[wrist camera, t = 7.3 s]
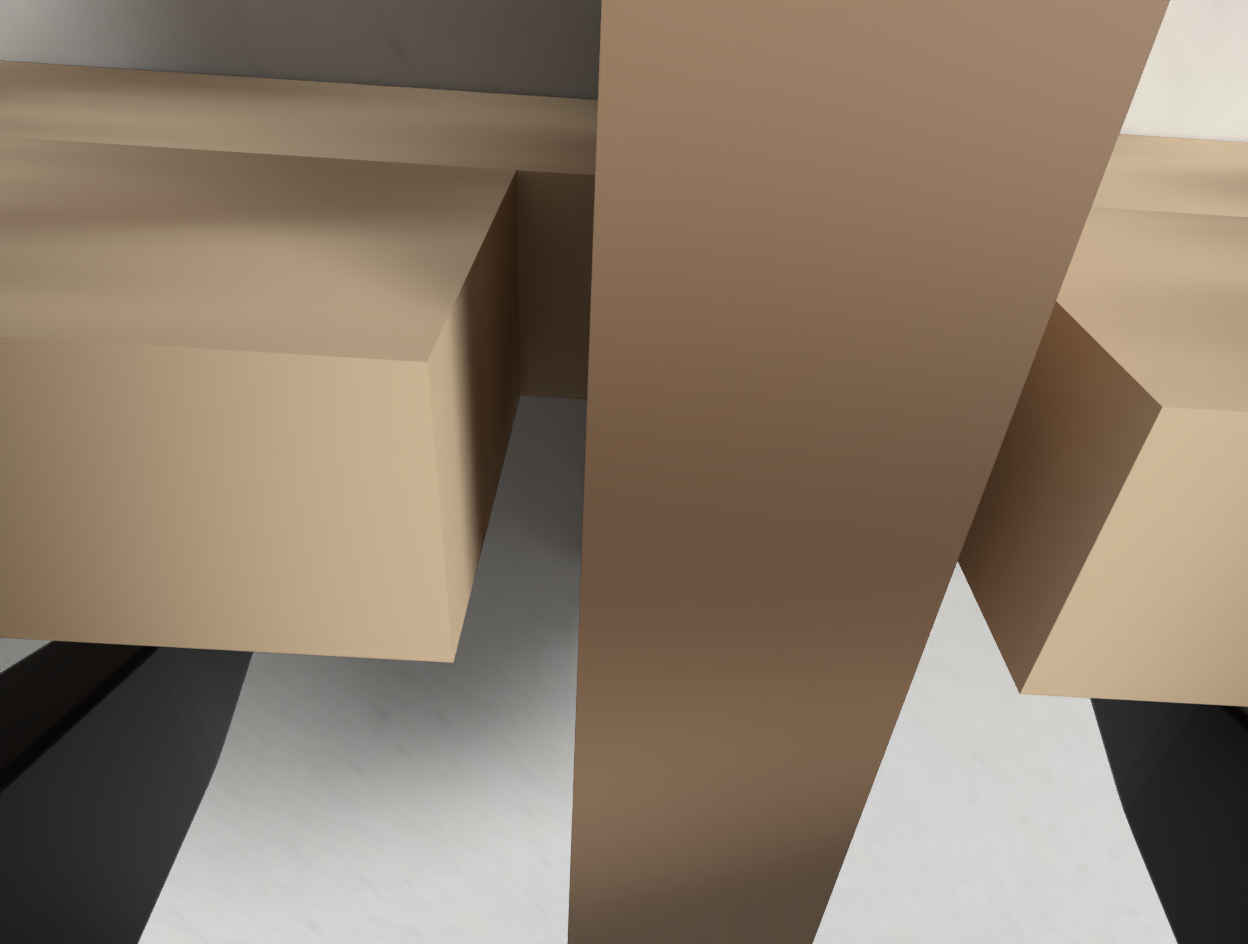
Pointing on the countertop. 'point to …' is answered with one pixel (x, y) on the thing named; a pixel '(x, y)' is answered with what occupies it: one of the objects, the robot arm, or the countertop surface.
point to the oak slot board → (519, 378)
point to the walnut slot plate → (800, 409)
